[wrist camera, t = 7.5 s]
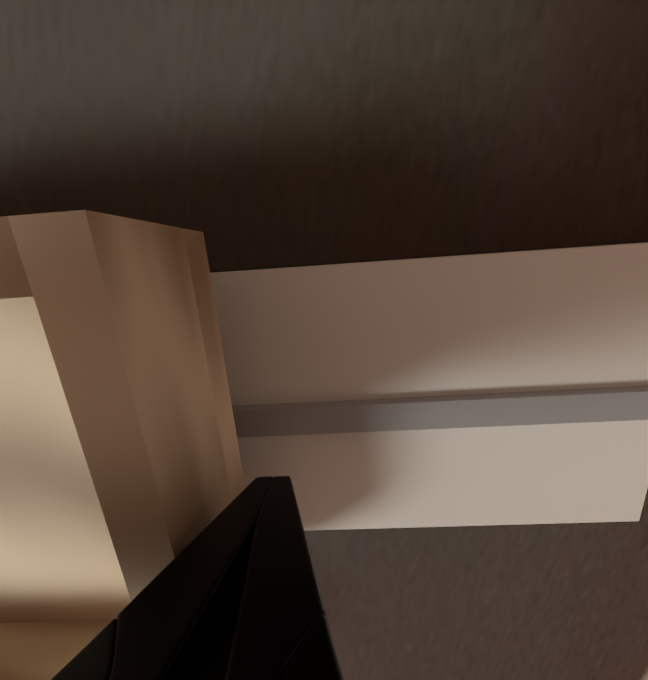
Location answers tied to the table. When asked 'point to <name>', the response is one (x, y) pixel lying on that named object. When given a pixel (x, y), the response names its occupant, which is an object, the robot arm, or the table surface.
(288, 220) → the table surface
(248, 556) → the robot arm
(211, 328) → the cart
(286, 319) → the track
